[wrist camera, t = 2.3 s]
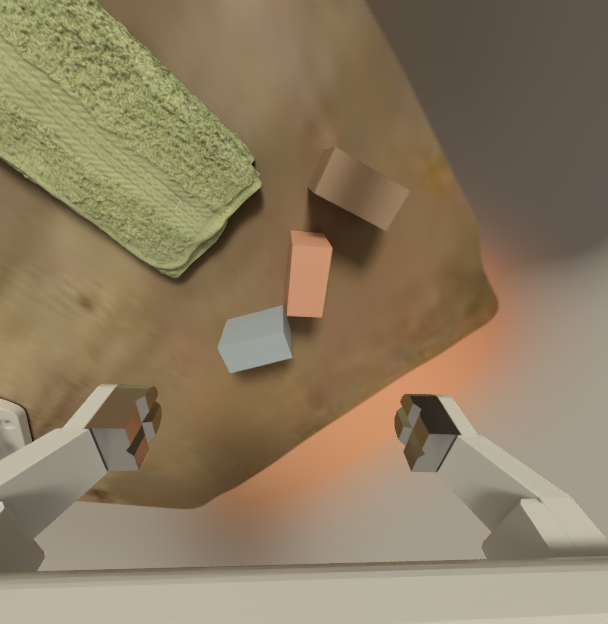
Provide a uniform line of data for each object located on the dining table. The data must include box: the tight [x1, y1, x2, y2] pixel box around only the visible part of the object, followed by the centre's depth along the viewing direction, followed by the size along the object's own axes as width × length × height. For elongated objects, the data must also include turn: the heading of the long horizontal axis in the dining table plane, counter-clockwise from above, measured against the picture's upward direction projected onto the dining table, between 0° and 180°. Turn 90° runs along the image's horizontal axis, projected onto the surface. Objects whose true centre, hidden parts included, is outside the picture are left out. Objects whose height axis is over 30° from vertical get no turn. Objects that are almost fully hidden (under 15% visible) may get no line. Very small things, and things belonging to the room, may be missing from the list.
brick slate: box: [217, 305, 292, 373], centre depth 27 cm, size 6×3×5 cm, turn 104°
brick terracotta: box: [286, 230, 333, 318], centre depth 24 cm, size 6×3×5 cm, turn 174°
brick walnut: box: [308, 147, 410, 231], centre depth 21 cm, size 6×3×5 cm, turn 64°
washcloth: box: [0, 0, 262, 278], centre depth 20 cm, size 13×18×3 cm
